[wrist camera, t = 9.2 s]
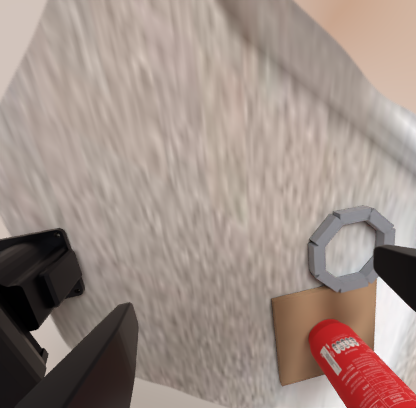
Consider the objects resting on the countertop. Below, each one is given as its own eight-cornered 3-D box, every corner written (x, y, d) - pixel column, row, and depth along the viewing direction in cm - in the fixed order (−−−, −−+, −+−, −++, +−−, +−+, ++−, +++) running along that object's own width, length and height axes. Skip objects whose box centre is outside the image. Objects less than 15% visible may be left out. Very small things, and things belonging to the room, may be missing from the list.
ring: (310, 293, 24) (315, 299, 24) (306, 216, 22) (312, 220, 21) (383, 275, 25) (392, 280, 24) (387, 200, 23) (397, 202, 22)
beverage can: (349, 313, 25) (496, 452, 14) (342, 350, 26) (471, 506, 15) (307, 317, 24) (424, 468, 13) (302, 355, 26) (404, 523, 14)
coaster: (279, 381, 27) (282, 386, 26) (271, 298, 24) (273, 302, 23) (369, 356, 28) (373, 360, 28) (372, 274, 25) (376, 277, 24)
